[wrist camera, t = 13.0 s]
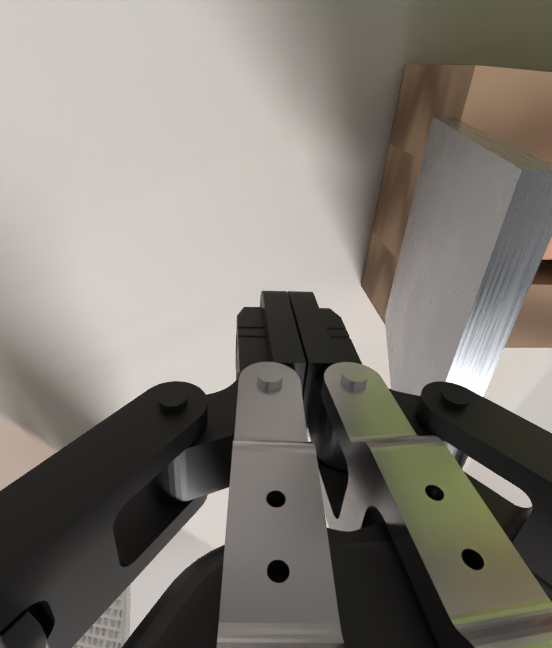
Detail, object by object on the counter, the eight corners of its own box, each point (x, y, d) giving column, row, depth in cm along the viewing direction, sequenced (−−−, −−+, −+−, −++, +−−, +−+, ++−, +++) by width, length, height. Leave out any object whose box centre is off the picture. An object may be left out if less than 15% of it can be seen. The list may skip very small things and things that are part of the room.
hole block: (405, 64, 24) (475, 65, 17) (623, 84, 26) (765, 91, 19) (360, 285, 31) (398, 347, 25) (533, 289, 33) (613, 347, 26)
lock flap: (403, 319, 23) (384, 316, 23) (456, 118, 18) (432, 116, 18) (434, 509, 13) (401, 503, 13) (577, 176, 8) (522, 169, 8)
